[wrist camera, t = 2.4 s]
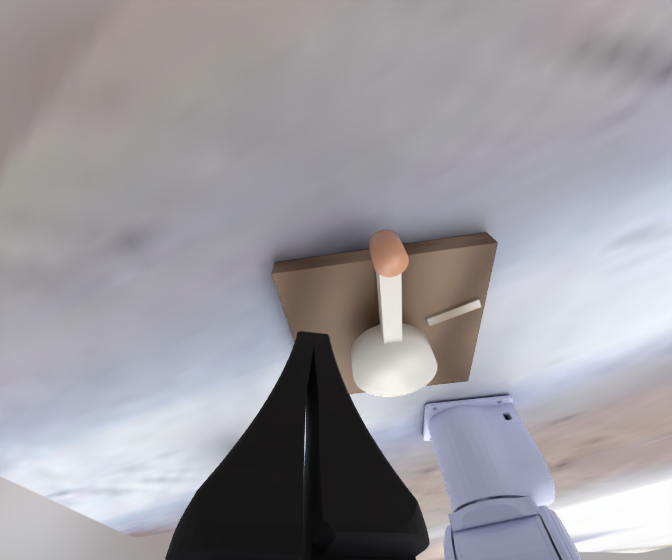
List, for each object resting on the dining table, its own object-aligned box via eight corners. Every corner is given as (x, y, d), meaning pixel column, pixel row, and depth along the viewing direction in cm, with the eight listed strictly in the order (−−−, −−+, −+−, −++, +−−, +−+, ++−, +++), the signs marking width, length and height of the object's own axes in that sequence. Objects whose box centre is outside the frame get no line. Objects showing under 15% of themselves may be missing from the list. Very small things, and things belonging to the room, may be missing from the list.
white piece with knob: (427, 370, 23) (435, 394, 21) (355, 378, 23) (357, 403, 22) (437, 220, 15) (452, 238, 14) (330, 236, 16) (330, 256, 14)
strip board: (486, 232, 19) (507, 251, 17) (461, 368, 28) (473, 392, 26) (274, 262, 20) (268, 284, 18) (314, 384, 29) (313, 409, 27)
